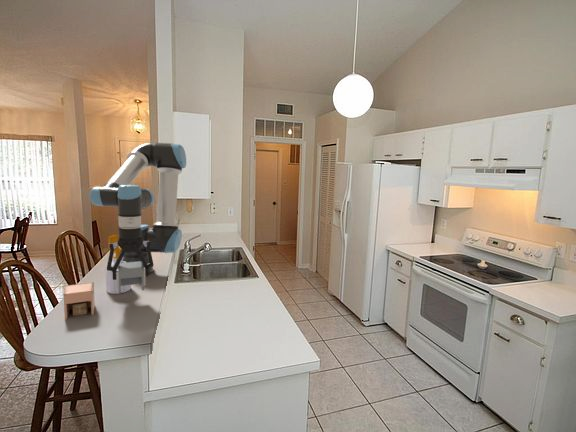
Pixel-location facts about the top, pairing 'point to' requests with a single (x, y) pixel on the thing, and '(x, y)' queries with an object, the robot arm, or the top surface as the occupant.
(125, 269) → the slate cover
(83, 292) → the terracotta cover
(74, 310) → the letter cube
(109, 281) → the soap bottle
